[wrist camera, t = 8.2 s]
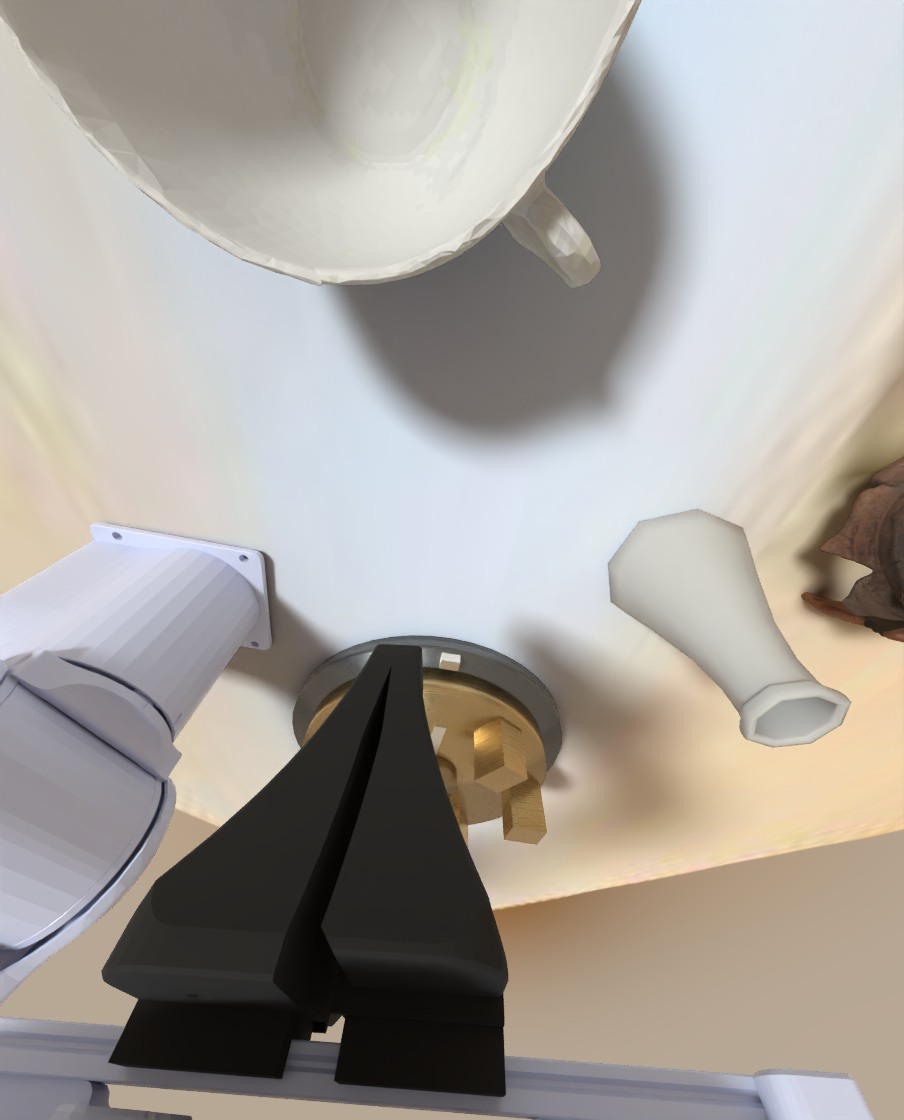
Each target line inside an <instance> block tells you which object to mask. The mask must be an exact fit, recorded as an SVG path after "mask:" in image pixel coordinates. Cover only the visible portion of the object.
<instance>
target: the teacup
mask: <svg viewBox="0 0 904 1120" xmlns="http://www.w3.org/2000/svg"><path fill="white" fill-rule="evenodd" d="M640 3H641V0H0V20H1V22H2V24H3V26H4V27H5V29H6V30H7V32H8V33H9V34H10V36H11V38H12V39H13V41H14V43H15V44H16V46H17V48H18V50H19V51H20V53H21V55H22V56H23V58H24V60H25V61H26V63H27V65H28V66H29V68H30V69H31V71H32V72H33V74H34V75H35V76H36V78H37V79H38V81H39V82H40V83H41V85H42V86H43V88H44V89H45V90H46V92H47V93H48V94H49V95H50V97H51V98H52V99H53V100H54V101H55V102H56V103H57V105H58V106H59V107H60V108H61V109H62V110H63V112H64V113H65V114H66V115H67V116H68V117H69V118H70V119H71V121H72V122H73V123H74V124H75V125H76V126H77V127H78V128H79V129H80V130H81V131H82V133H83V134H84V135H85V136H86V138H87V139H88V140H89V141H90V143H91V144H92V145H93V146H94V147H95V148H96V149H97V150H98V151H99V152H100V153H101V154H102V155H103V156H104V157H105V158H106V159H107V160H108V161H109V162H110V163H111V164H112V165H113V166H114V167H116V168H117V169H118V170H119V171H120V172H121V173H122V174H123V175H124V176H125V177H127V178H128V179H129V180H130V181H131V182H132V183H133V184H134V185H135V186H136V187H138V188H139V189H140V190H141V191H142V192H143V193H145V194H146V195H147V196H148V197H150V198H151V199H152V200H154V201H155V202H156V203H157V204H159V205H160V206H161V207H162V208H164V209H165V210H166V211H167V212H168V213H169V214H171V215H172V216H173V217H174V218H175V219H176V220H177V221H178V222H180V223H181V224H182V225H184V226H186V227H188V228H189V229H191V230H193V231H195V232H196V233H198V234H200V235H201V236H203V237H204V238H206V239H207V240H209V241H210V242H212V243H213V244H215V245H217V246H218V247H220V248H222V249H224V250H225V251H227V252H229V253H231V254H232V255H234V256H236V257H238V258H239V259H241V260H243V261H246V262H249V263H252V264H254V265H257V266H260V267H263V268H265V269H268V270H271V271H273V272H276V273H280V274H284V275H288V276H291V277H294V278H296V279H299V280H302V281H305V282H308V283H311V284H314V285H318V286H321V285H322V284H334V285H362V284H380V283H385V282H391V281H396V280H402V279H406V278H409V277H413V276H416V275H419V274H422V273H424V272H426V271H429V270H431V269H433V268H436V267H438V266H440V265H443V264H445V263H447V262H449V261H450V260H452V259H454V258H456V257H458V256H459V255H461V254H463V253H464V252H465V251H467V250H468V249H470V248H471V247H473V246H474V245H476V244H477V243H478V242H479V241H481V240H482V239H483V238H484V237H485V236H487V235H488V234H489V233H490V232H491V231H493V230H494V229H495V228H496V227H497V226H498V225H499V224H500V223H501V222H502V223H503V225H504V226H505V228H506V229H507V230H508V232H509V233H510V235H511V236H512V237H513V238H514V239H515V240H516V241H517V242H518V243H519V244H520V245H522V246H523V247H525V248H526V249H528V250H529V251H531V252H532V253H534V254H535V255H537V256H538V257H539V258H540V259H542V260H543V261H544V262H545V263H546V264H547V265H548V266H549V267H550V268H552V269H553V270H554V271H555V272H556V273H557V274H558V275H559V276H560V277H561V278H562V280H563V281H564V282H565V283H566V284H567V285H568V286H569V287H571V288H577V287H580V286H583V285H585V284H587V283H589V282H591V281H592V280H593V279H594V277H595V276H596V275H597V274H598V273H599V272H600V268H601V263H600V260H599V257H598V255H597V253H596V251H595V249H594V247H593V244H592V242H591V240H590V238H589V237H588V235H587V234H586V232H585V231H584V230H583V228H582V227H581V225H580V224H579V223H578V222H577V220H576V219H575V218H574V217H573V215H572V214H571V213H570V212H569V211H568V209H567V208H566V207H565V206H564V205H563V203H562V202H561V201H560V200H559V198H558V197H557V196H556V195H555V194H554V193H553V192H552V191H551V190H550V189H549V188H548V187H547V186H546V182H545V173H546V171H547V170H548V169H549V168H550V166H551V165H552V164H553V162H554V161H555V159H556V158H557V157H558V155H559V154H560V152H561V151H562V150H563V148H564V147H565V146H566V144H567V143H568V141H569V140H570V139H571V137H572V136H573V134H574V132H575V131H576V129H577V127H578V126H579V124H580V122H581V120H582V119H583V117H584V115H585V113H586V112H587V110H588V108H589V106H590V105H591V103H592V101H593V100H594V98H595V96H596V94H597V93H598V91H599V89H600V87H601V85H602V83H603V81H604V79H605V77H606V75H607V73H608V71H609V69H610V67H611V65H612V63H613V61H614V59H615V57H616V55H617V53H618V51H619V49H620V46H621V44H622V42H623V40H624V38H625V36H626V34H627V32H628V30H629V28H630V26H631V23H632V21H633V19H634V17H635V14H636V12H637V10H638V7H639V5H640Z"/></svg>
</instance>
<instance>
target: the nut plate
mask: <svg viewBox="0 0 904 1120" xmlns="http://www.w3.org/2000/svg"><path fill="white" fill-rule="evenodd" d="M378 644H393V645H414V646H419V647H421V648H422V659H423V668H436V669H443V670H450V671H455V672H459V673H463V674H467V675H471V676H474V677H477V678H480V679H483V680H485V681H487V682H490V683H492V684H494V685H496V686H498V687H500V688H502V689H503V690H505V691H507V692H508V693H510V694H512V695H513V696H514V697H516V698H517V699H518V700H519V701H521V702H522V703H523V704H524V705H525V706H526V707H527V708H528V710H529V711H530V712H531V713H532V715H533V716H534V718H535V719H536V721H537V723H538V725H539V728H540V730H541V736H542V742H543V747H544V753H545V759H546V765H547V767H546V772H547V771H548V770H549V769H550V767H551V766H552V765H553V763H554V762H555V760H556V758H557V756H558V754H559V750H560V746H561V737H562V732H561V727H560V722H559V717H558V713H557V708H556V705H555V703H554V701H553V698H552V696H551V695H550V693H549V692H548V690H547V689H546V687H545V686H544V685H543V684H542V683H541V682H540V681H539V679H538V678H537V677H536V676H535V675H534V674H532V673H531V672H530V671H528V670H527V669H526V668H525V667H523V666H522V665H520V664H519V663H517V662H515V661H514V660H512V659H510V658H509V657H507V656H505V655H503V654H500V653H498V652H496V651H494V650H492V649H489V648H486V647H483V646H480V645H477V644H474V643H470V642H465V641H461V640H456V639H451V638H443V637H435V636H399V637H389V638H383V639H378V640H372V641H369V642H365V643H362V644H358V645H355V646H353V647H350V648H348V649H346V650H343V651H341V652H339V653H337V654H336V655H334V656H332V657H331V658H329V659H327V660H326V661H325V662H324V663H322V664H321V665H320V666H319V667H318V668H316V669H315V671H314V672H313V673H312V674H311V675H310V677H309V678H308V679H307V681H306V683H305V685H304V686H303V688H302V690H301V693H300V695H299V697H298V699H297V701H296V704H295V708H294V711H293V729H294V734H295V737H296V739H297V742H298V744H299V746H300V747H301V748H302V744H303V741H304V738H305V735H306V733H307V730H308V728H309V725H310V723H311V720H312V718H313V715H314V713H315V710H316V708H317V707H318V705H319V704H320V702H321V701H322V700H323V699H324V698H325V697H326V696H327V695H328V694H329V693H330V692H331V691H332V690H334V689H335V688H337V687H338V686H340V685H341V684H343V683H345V682H347V681H349V680H351V679H353V678H356V677H357V676H358V675H359V673H360V672H361V670H362V668H363V667H364V665H365V664H366V662H367V660H368V659H369V657H370V655H371V654H372V652H373V650H374V648H375V647H376V646H377V645H378Z"/></svg>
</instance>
